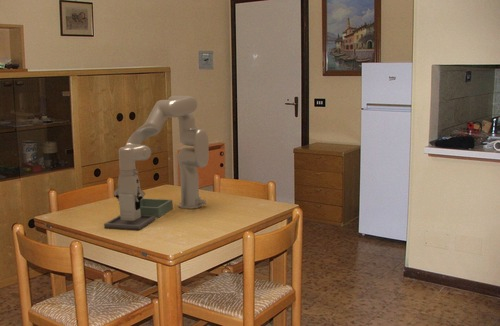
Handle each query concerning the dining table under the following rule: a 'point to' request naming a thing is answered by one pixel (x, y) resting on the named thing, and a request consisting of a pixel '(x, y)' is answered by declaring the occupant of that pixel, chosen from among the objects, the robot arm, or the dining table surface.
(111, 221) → the tray
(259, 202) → the dining table surface
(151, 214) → the green open box
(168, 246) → the dining table surface
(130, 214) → the supplement box
